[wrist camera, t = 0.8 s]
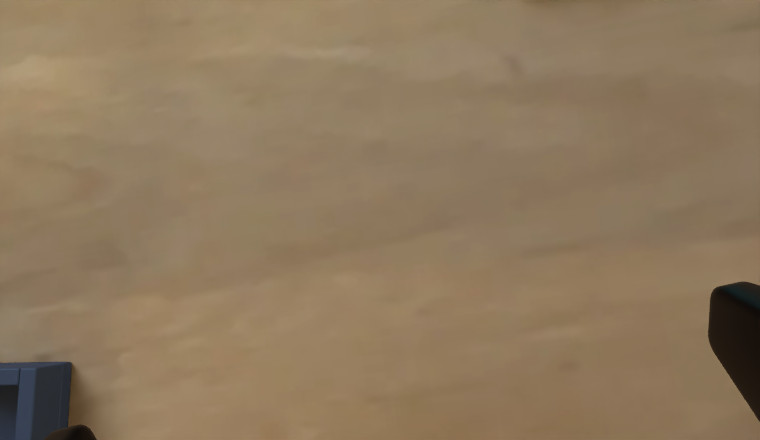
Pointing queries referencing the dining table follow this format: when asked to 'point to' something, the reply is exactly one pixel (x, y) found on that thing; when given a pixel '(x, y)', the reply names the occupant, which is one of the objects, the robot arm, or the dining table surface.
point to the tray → (33, 399)
